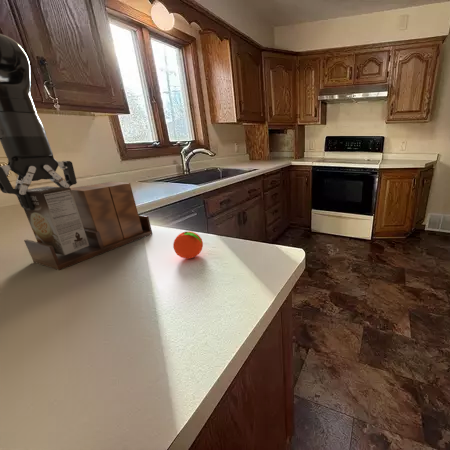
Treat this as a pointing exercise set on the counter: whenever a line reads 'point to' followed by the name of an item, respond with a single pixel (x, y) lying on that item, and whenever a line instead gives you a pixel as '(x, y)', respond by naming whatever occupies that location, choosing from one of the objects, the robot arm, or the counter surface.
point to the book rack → (98, 224)
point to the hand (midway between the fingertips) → (49, 205)
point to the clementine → (188, 245)
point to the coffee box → (56, 219)
